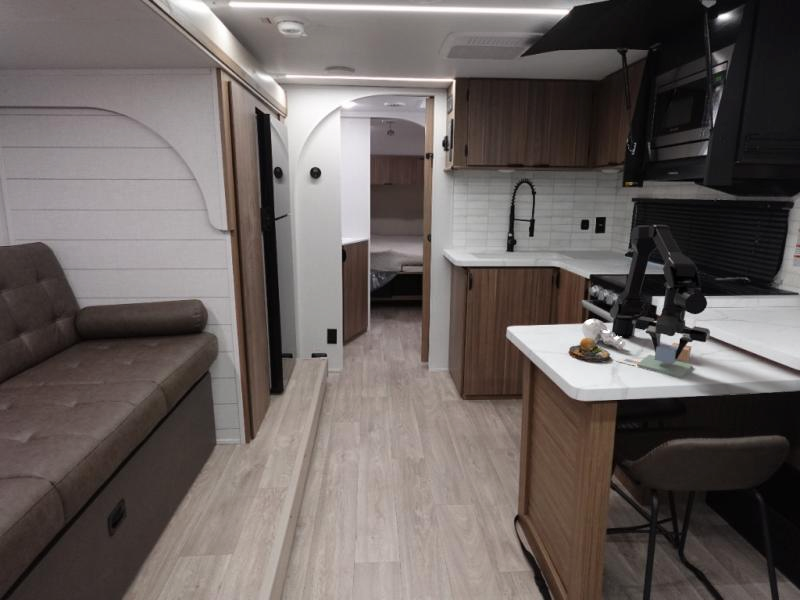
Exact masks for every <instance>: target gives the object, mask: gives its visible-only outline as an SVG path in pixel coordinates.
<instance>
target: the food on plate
mask: <svg viewBox="0 0 800 600" xmlns="http://www.w3.org/2000/svg"><path fill="white" fill-rule="evenodd" d="M585 336H586V335H585ZM568 354H569V356H570V357H573V358H574V359H575V360H579V361H582V362H589V363H597V364H599V363H600V364H601V363H605V362H609V360H610V356H611V354H610V352H609V351H608V350H605V349H603V348H601V346H597V345H596V343H595V341H594V340H593V339H591V338H587V337H584V338H582V340H580V343H579V344H578V345H572V346H570V347H569V351H568ZM604 361H605V362H604Z"/></svg>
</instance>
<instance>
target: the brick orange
mask: <svg viewBox="0 0 800 600" xmlns="http://www.w3.org/2000/svg"><path fill="white" fill-rule="evenodd" d="M671 345H672V346H677V347H678V346H679V343H677V342H673V343H671ZM691 351H692V346H690V345H687V344H686V346H685V347H684V349H683V350H682V352H681V354H680V355H679V357H678V360H677V361H680V362H684V363H687V362H688V361H689V359H690V357H691Z"/></svg>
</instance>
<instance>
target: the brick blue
mask: <svg viewBox="0 0 800 600" xmlns="http://www.w3.org/2000/svg"><path fill="white" fill-rule="evenodd" d="M677 349H678V347H677V346H672V344H666V343H662V342H660V344H659V345H658V346H657V347H656V353H655V352H654V353H655V355H654V356H655V359H654V360H657V361H661V362H666V363H670V364H674V363H675V362H676V361H678V359H676V352H677Z"/></svg>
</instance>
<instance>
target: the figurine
mask: <svg viewBox="0 0 800 600" xmlns="http://www.w3.org/2000/svg"><path fill="white" fill-rule="evenodd" d="M581 331H582V334H583V335H584V336H585V335H586V336H585V337H584V338H591V339H593V340H594V341H595V344H596V343H597V344H598V341H602V342H603V343H604V344H605V345H608V346H609V345H610V346H612V345H613V346H612V347H614V348H616V349H617V350H618V349H620V350H622V349H623V348H624V347H625V346H626V341H623V338H624V337H620V336H616V335H615V333H614V332H612V330H609V329H608V327H607V326H606V324H605V323H604V321H602V320H599V319H596V318H590V319H587V320H585V321H584V322H583V324H582V326H581ZM601 339H602V340H601Z"/></svg>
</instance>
